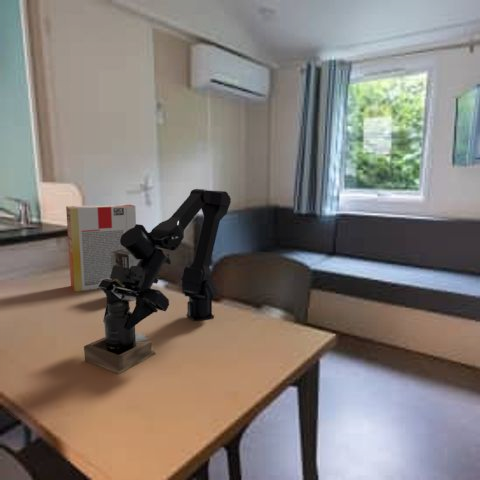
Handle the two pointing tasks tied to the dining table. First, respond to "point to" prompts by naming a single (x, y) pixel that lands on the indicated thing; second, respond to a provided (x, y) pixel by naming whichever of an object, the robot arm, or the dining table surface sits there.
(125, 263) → the coffee box
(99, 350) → the walnut well
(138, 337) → the mounting bracket
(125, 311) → the supplement bottle
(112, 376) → the dining table surface
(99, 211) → the pasta box
